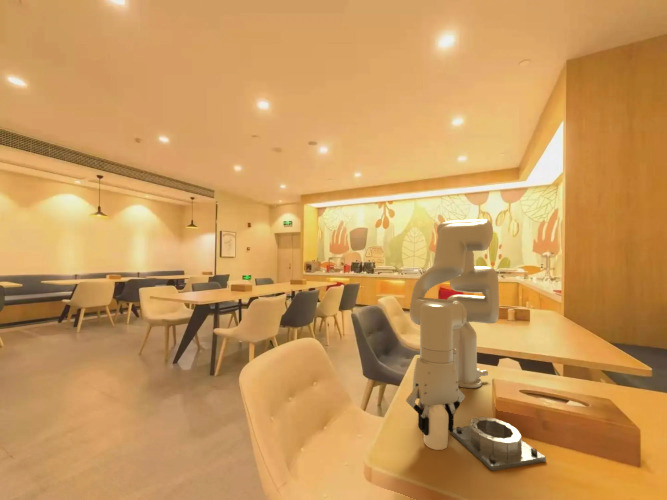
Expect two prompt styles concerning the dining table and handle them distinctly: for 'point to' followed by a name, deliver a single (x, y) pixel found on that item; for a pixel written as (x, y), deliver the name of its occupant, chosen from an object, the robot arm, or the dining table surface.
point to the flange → (496, 444)
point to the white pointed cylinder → (437, 427)
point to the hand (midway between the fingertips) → (435, 429)
